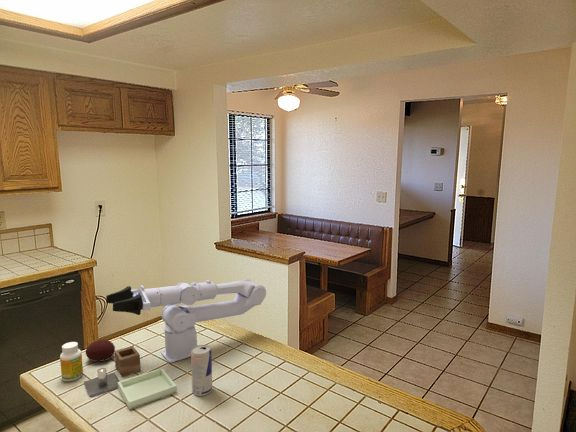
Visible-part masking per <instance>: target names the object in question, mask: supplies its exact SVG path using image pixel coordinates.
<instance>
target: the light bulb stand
mask: <svg viewBox="0 0 576 432" xmlns="http://www.w3.org/2000/svg"><path fill="white" fill-rule="evenodd" d="M118 382H120V379H119V377H118V376H117V374H116V372H111V373H109V374H107V367H100V368H99V369H97V377H95V378H92V379H88V380H85V381H83V384H84V388H85V389H86V391H87V394H88V396H89V398H93V397H96V396H99V395H101V394H105V393H107V392H111V391H113V390H118Z"/></svg>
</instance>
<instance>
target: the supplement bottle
mask: <svg viewBox="0 0 576 432" xmlns="http://www.w3.org/2000/svg"><path fill="white" fill-rule="evenodd" d="M61 351H62V352H61V353H60V356H59V361H60V362H59V363H60V372H61V380H62V381H63V382H72V381H76V380H78V379H80V378H81V377H82V376H83V375H84V369H83V356H82V350H81V349H80V348H79V343H78V342H77V341H70V342H66V343H64V344H63V345H62V346H61Z"/></svg>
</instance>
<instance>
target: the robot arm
mask: <svg viewBox="0 0 576 432" xmlns="http://www.w3.org/2000/svg"><path fill="white" fill-rule="evenodd" d="M229 294H235V296H234V298H233V300H227V301H220V302H214V303H206V304H200V305H194V304H195V303H196V302H200V301H206V300H208V301H209V300H214V299H215V298H216V297H217V295H229ZM266 295H267V289H266V287H265V286H264V285H262V284H261V285H260V284H258V283H256V282H254V281H252V280H251V279H247V278H246V279H239V280H234V281H230V282H223V283H217V284H216V283H215V282H214V281H211V280H209V279H206V280H205V281H204V282H195V281H194V282H191V283H190V284H189V283H186V282H182V281H181V282H179V283H177V284H176V285H170V286H159V287H152V288H151V287H150V288H145V287H144V285H140V286H139V288H138V289H132V287H131V286H130V285H128V286H126V287H125V288H122V289H120V290H119V291H116V292H113V293H110V294H106V296H105V303H106V304H112V311H113V312H121V313H131V314H134V315H138V316H140V315H141V312H142V310H143V311H150V310H151V308H156V307H157V308H158V307H164V308H163V309H162V310H161V315H160V316H161V319H162V321H163V322H164V324H165V325H164V347H165V349H164V350H163V351H161V355H162V356H163V357H164V358H165V359H166V361H167V362H168V363H171V364H172V363H175V362H178V361H181V360H185V359H188V358H191V351H192V348H194V347H195V346H198V334H197V330H196V327H195V325H196V323H201V322H206V321H212V320H218V319H224V318H228V317H236V316H241V315H244V314H245V313H247V312H248V311H250V310H251V309H252V308H255V307H256V306H260V305H262V303H263V301H264V300H265V298H266ZM178 304H183V305H178ZM193 305H194V306H193Z"/></svg>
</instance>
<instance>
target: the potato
mask: <svg viewBox="0 0 576 432" xmlns="http://www.w3.org/2000/svg"><path fill="white" fill-rule="evenodd" d="M114 351H116V346H115V345H114V343H113V342H112V341H111V340H107V339H98V340H95V341H93V342H92V343H90V344H89V345H87V347H86V348H85V355H86V357H87V359H89V360H90V361H93V362H104V361H107V360H109V359H110V358H112V356H113V355H115V352H114Z"/></svg>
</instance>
